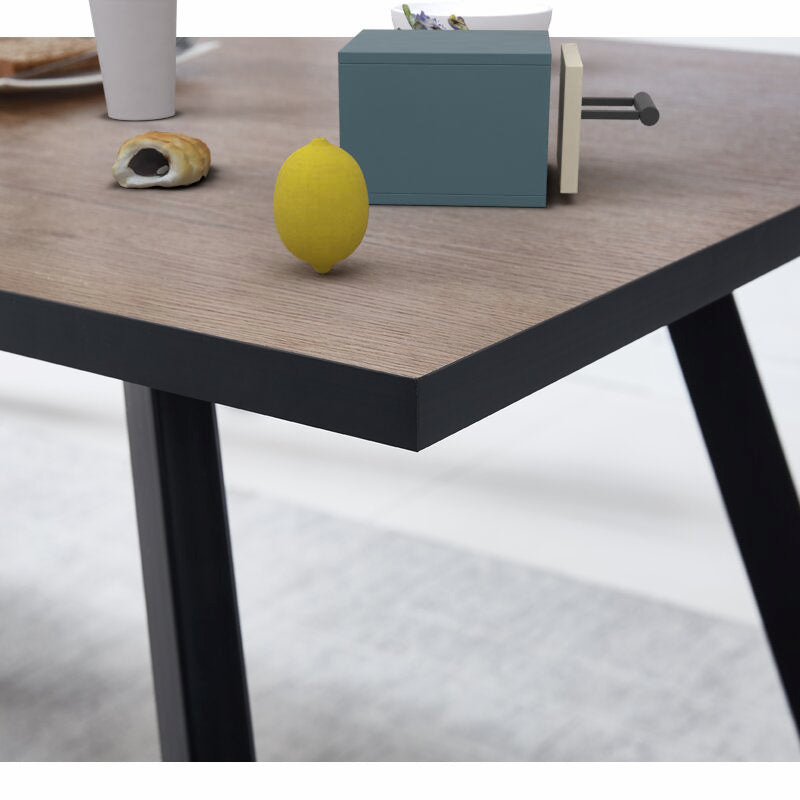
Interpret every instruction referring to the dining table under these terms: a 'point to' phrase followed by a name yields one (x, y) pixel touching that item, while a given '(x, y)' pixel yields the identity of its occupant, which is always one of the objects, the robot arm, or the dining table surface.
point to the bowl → (479, 14)
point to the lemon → (321, 204)
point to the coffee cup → (137, 56)
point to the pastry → (161, 160)
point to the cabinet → (448, 115)
